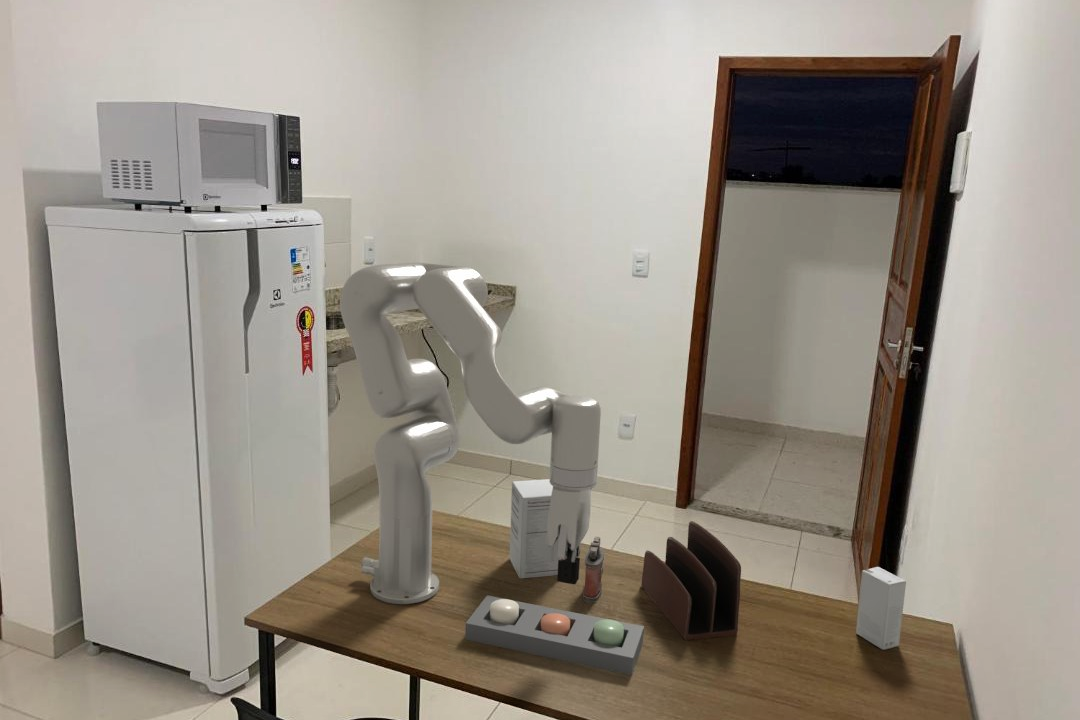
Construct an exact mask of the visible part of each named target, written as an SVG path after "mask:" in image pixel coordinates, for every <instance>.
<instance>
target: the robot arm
mask: <svg viewBox="0 0 1080 720" xmlns="http://www.w3.org/2000/svg"><path fill="white" fill-rule="evenodd" d="M488 295H489V291H488V286H487V283H486V280H485V278H483V276H482V275H481V274H480V273H479V272H478V271H476V269H473V268H471V267H468V266H463V265H462V266H459V265H457V266H456V265H449V264H437V263H436V264H435V263H428V262H427V263H425V262H404V263H388V264H387V263H384V264H383V263H382V264H375V265H371V266H365V267H363V268H360V269H358V270H357V271H355V272H354V273H353V274H351V275H350V276H349V277H348V278H347V280H346V281H345V283H344V285H343V286H342V290H341V293H340V296H339V297H340V299H339V309H340V315H341V319H342V322H343V324H344V325H343V326H344V327H345V330H346V331H347V334H348V336H349V339H350V342H351V344H352V346H353V349H354V352H355V353H354V354H355V357H356V362H357V367H358V369H359V373H360V376H361V380H362V383H363V388H364V391H365V395H366V399H367V401H368V404H369V407H370V409H371V411H372V412H373V413H374V414H375V415H376V416H377V417H378V418H381V419H393V418H394V419H395V418H399V417H401V416H404V415H408V414H410V416H411V419H412V420H407V421H406V422H402V423H399V424H397V425H394V426H392V427H390V428H388V429H387V430H385V431H384V432H382V433H381V434H380V435H379V437H378V439H377V441H375V445H374V450H373V458H374V464H375V470H376V475H377V482H378V498H379V499H378V501H379V502H378V504H379V506H378V507H379V508H378V509H379V513H378V515H379V517H378V519H379V522H378V525H379V528H378V532H379V533H378V536H379V537H378V538H379V540H378V550H379V552H378V559H374V558H369V557H363V558H362V560H361V570H360V572H361V573H362V574H365V575H371V576H372V577H373V578H372V579H371V582H370V586H369V587H370V588H369V589H370V593H371V594H372V596H373V597H374V598H376V599H377V600H379V601H381V602H385V603H387V604H394V605H410V604H417V603H421V602H424V601H427V600H429V599H430V598H432V597H434V596H435V595H436V593H438V591H439V589H440V580H439V578H438V576H437V575H436V574H434V572H432V550H433V548H432V545H433V544H432V540H433V495H432V490H431V487H430V484H429V482H428V480H427V477H426V472H427V471H429V470H431V469H433V468H435V467H437V466H440V465H443V464H444V463H446V462H448V461H450V460H451V459H452V458H454V456H455V455H456V453H457V452H458V450H459V447H460V430H459V427H458V422H457V419H456V418H457V417H456V415H455V411H454V407H453V404H452V403H453V402H452V399H451V395H450V392H449V390H448V386H447V385H448V384H447V383H446V380H445V377H444V375H443V373H442V372H441V370H440V369H439V368H438V366H437V365H435V363H433V362H432V361H430V360H428V359H425V358H412V359H408V357H407V355H406V354H407V353H406V352H405V349H404V348H405V347H404V344H403V341H402V338H401V335H400V334H399V332H398V330H397V328H396V327H395V326H394V325H393V323H392V322H391V321H390V320H389V319H388V318H387V315H388V314H389V313H397V312H405V311H410V310H418V309H419V311H420V312H421V313H422V315H423V316H424V317H425V318H426V320H427V321H428V322H429V324H431V326H432V327H433V329H434V330H435V331H436V332H437V334H438V335H439V336H440V337H441V339H442V340H443V341H444V342H445V343H446V345H447V346H448V348H449V349H450V350H451V351H452V353H453V354H454V355H455V356H456V358H457V359H458V361H459V362H460V365H461V366H460V367H461V376H462V381H463V385H464V389H465V393H466V396H467V398H468V401H469V403H470V404H471V407H472V408H473V409H474V411H475V412H476V414H478V416H479V417H480V418H481V420H482V421H483V422H484V423H485V425H486V426H487V427H488V429H490V431H491V432H492V433H493V434H494V435H495V436H496V437H498V438H499V439H500V440H502V441H503V442H505V443H508V444H510V445H521V444H525V443H528V442H530V441H532V440H533V439H536V438H538V437H540V436H544V435H548V434H551V439H550V440H551V441H550V462H549V479H550V484H551V485H552V486H553V489H552V494H551V500H550V508H549V517H548V528H547V540H546V544H547V546H548V547H551V546H553V545H554V543H555V542H556V541H557V539H558V553H557V558H558V575H556V576H557V582H559V583H564V584H568V585H569V584H570V585H573V586H574V585H576V584H577V583H578V581H579V578H580V577H579V576H580V563H581V562H580V561H581V560H580V559H581V558H580V556H581V555H580V554H581V548H582V547H581V546H582V541H583V540H584V538H585V537H586V536H587V533H588V531H589V529H590V521H591V504H592V503H591V502H592V499H591V498H592V489H594V488H596V486H597V481H598V466H599V452H600V451H599V450H600V449H599V448H600V433H601V430H600V429H601V415H602V414H601V413H602V410H601V409H602V408H601V406H600V405H601V404H600V403H599V401H597V400H596V399H594V398H592V397H589V396H583V395H570V394H568V393H564V392H561V391H559V390H556V389H554V388H551V387H546V386H537V387H533V388H531V389H528V390H525V391H522V392H519V393H515V392H514V390H513V389H512V388H511V387H510V385H509V384H508V383H507V381H505V378H503V376H502V374H501V372H500V371H499V369H498V367H497V362H496V356H495V355H496V350H497V348H498V346H499V345H500V343H501V341H502V338H503V333H502V330H501V328H500V327H499V326H498V325H497V323H496V322H495V321H494V320H493V318H492V317H491V316H490V315H489V313H488V312H487V311H486V310H485V309H484V306H485V305H486V303H487V300H488Z"/></svg>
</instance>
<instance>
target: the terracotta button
mask: <svg viewBox="0 0 1080 720" xmlns="http://www.w3.org/2000/svg"><path fill="white" fill-rule="evenodd" d="M541 631H543V632H548V633H553V634H558V635H562V636H568V634H569V632H570V619H569V618H568V617H567V616H565V615H563V614H558V613H550V614H546V615H544V616H543V617H542V619H541Z"/></svg>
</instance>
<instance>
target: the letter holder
mask: <svg viewBox="0 0 1080 720" xmlns="http://www.w3.org/2000/svg"><path fill="white" fill-rule="evenodd" d="M665 545H666V547H665V559H664V560H665V561H663V560H662V559H661V558H659V556H657V555H656V554H655V553H654V552H652V551H650V550H648V549H647V550H646V551H645V553H644V557H643V558H644V559H643V566H642V577H641V587H642V588H643V590H644V591H645V592H646V593H647V595H648V596H649V597H650V598H651V600H652V601H653V602H654V603H655V605H656V606H657V607H658V608H659V609H660V611H661V612H662V613H663V614H664V616H665V617H666V618H667V620H669V622H670V623H671V624H672V626H673V627H674V628H675V629H676V630H677V632H678V633H679V635H681V637H682V638H683V639H684V640H685V641H693V640H701V639H702V640H703V639H710V638H711V639H713V638H720V637H730V636H736V635H737V634H738V630H739V629H738V628H739V615H740V614H739V612H740V611H739V610H740V602H741V601H740V599H741V578H742V566H741V563H740V561H739V560H738V559H737V558H736V557H735V555H734V554H733V553H732V552H731V551H730V550H729V548H727V547H726V545H724V543H722V541H720V540H719V538H717V537H716V536H715V535H713V534H712V533H711V532H709V531H708V529H705V528H704V527H703V526H701V525H700V524H698V523H697V522H695V521H693V520H691V521H689V522H688V530H687V545H686V546H687V547H686V546H685V545H684V544H683V543H681V542H680V541H678V540H677V539H676V538H674V537H673V536H668V537H667V539H666V544H665Z"/></svg>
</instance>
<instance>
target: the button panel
mask: <svg viewBox="0 0 1080 720" xmlns="http://www.w3.org/2000/svg"><path fill="white" fill-rule="evenodd" d="M500 599H504V597H503V598H501V597H497V596H492V595H486V596H485V597H484V598H483V600H482V601H481V602H480V604H479V605H478V607H477V608H476V609H475V611H474V612H473V613H472V614H471V616H470V617H469V618H468V619H467V621H466V622H465V634H464V635H465V636H464V640H466V641H470V642H475V643H479V644H484V645H489V646H493V647H497V648H503V649H508V650H513V651H516V652H521V653H526V654H530V655H535V656H539V657H545V658H549V659H554V660H560V661H562V662H564V661H565V662H568V663H572V664H578V665H582V666H586V667H591V668H595V669H602V670H605V671H611V672H614V673H615V672H616V673H618V674H625V675H628V676H633V673H634V670H635V668H636V664H637V661H638V658H639V655H640V653H641V649H642V647H643V644H644V633H645V632H644V631H645V625H641V624H635V623H628V622H624V621H619V620H616V621H617V622H619V623H621V624H622V625H623V627H624V634H623V646H622V648H621V647H616V646H611V645H606V644H601V643H596V642H593V639H594V625H595V623H596V622H597V621H599V620H604V619H605V618H604V617H598V616H593V615H589V614H584V613H577V612H575V611H574V612H573V611H567V610H563V609H558V608H554V607H553V608H552V607H548V606H543V605H539V604H538V605H537V604H533V603H528V602H522V601H519V600H514V601H515V602H516V603H518V605H519V616H518V621H517V623H516V624H515V626H514V625H509V624H504V623H499V622H494V621H490V606H491V603H492V602H494V601H496V600H500ZM550 613H558V614H563V615H565V616H567V617H568V618H569V619H570V632H569V634H568V636H562V635H558V634H553V633H548V632H543V631H541V619H542V617H543V616H544V615H546V614H550Z"/></svg>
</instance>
